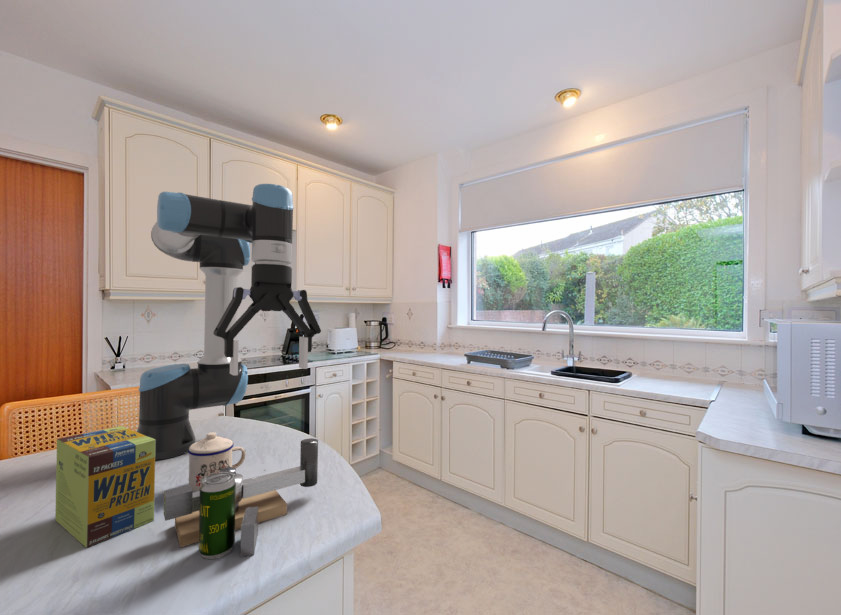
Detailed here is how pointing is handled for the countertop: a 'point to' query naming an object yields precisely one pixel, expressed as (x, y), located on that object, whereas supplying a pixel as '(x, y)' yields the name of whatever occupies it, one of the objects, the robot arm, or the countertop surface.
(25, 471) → the countertop surface
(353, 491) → the countertop surface
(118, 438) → the protein box
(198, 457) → the teacup with lid
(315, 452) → the lever
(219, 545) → the green drink can
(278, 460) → the countertop surface
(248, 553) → the pivot and anvil
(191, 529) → the press bench
